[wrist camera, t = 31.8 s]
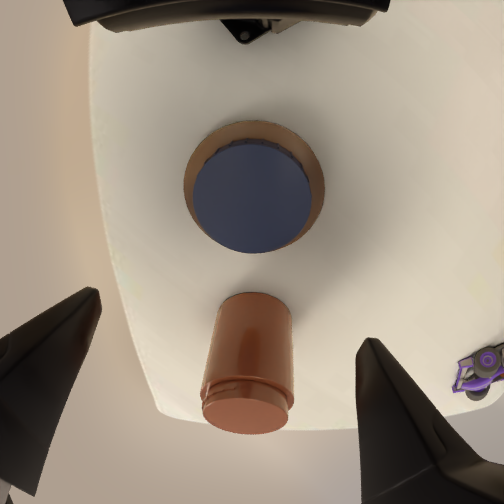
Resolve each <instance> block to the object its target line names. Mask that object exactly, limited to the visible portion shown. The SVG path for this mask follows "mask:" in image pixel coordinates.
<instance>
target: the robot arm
mask: <svg viewBox="0 0 504 504" xmlns="http://www.w3.org/2000/svg"><path fill="white" fill-rule="evenodd" d="M63 2H64V4H65V7H66V9H67V11H68V14H69V16H70V18H71V21H72V23H73V25H74V26H76V27H78V26H81V25H84V24H87V23H90V22H93V21H97V22H98V23H100V24H101V25H102V26H103V27H104V28H106V29H108V30H110V31H113V32H115V33H118V32H123V31H134V30H139V29H145V28H150V27H156V26H162V25H169V24H176V23H184V22H193V21H204V20H218V19H219V20H220V21H221V22H222V23H223V24H224V26H225V27H226V28H227V29H228V30H229V31H230V33H231V34H232V35H233V36H234V37H235V38H236V40H237V41H238V42H239V43H241V44H244V45H246V44H250V43H251V42H253V41H255V40H256V39H258V38H259V37H261V36H263V35H264V34H266V33H268V32H269V31H271V32H272V33H276V34H279V33H280V32H282V31H284V30H286V29H287V28H289V27H291V26H293V25H295V24H297V23H298V22H300V21H313V22H322V23H330V24H338V25H344V26H348V25H354V26H360V27H361V26H362V25H364V24H365V23H366V22H368V21H369V20H370V19H371V18H372V17H373V16H374V15H375V14H376V13H377V11H381V12H387V10H388V8H389V4H390V0H63ZM244 33H247V34H249V38H248V39H247V40H242V39H241V35H242V34H244ZM101 312H102V305H101V300H100V295H99V291H98V289H96V288H91V287H85V288H83V289H82V290H80V291H79V292H77V293H75V294H73V295H71V296H70V297H68V298H66V299H64V300H63V301H61V302H60V303H58V304H56V305H54V306H53V307H51V308H49V309H48V310H46V311H44V312H43V313H41V314H39V315H38V316H36V317H34V318H33V319H31V320H30V321H28V322H27V323H25V324H23V325H21V326H20V327H18V328H17V329H15V330H13V331H12V332H10V334H7V335H6V336H4V337H2V338H1V339H0V504H13V502H12V500H11V497H10V495H9V490H10V488H11V485H13V486H15V487H16V488H18V489H20V490H22V491H24V492H26V493H28V494H30V495H32V496H35V494H36V490H37V487H38V483H39V480H40V476H41V473H42V470H43V466H44V463H45V460H46V457H47V454H48V451H49V449H48V448H49V447H50V444H51V441H52V439H53V436H54V433H55V430H56V427H57V425H58V422H59V419H60V417H61V414H62V412H63V409H64V406H65V404H66V401H67V399H68V396H69V394H70V391H71V389H72V387H73V384H74V382H75V380H76V377H77V375H78V373H79V370H80V368H81V366H82V364H83V361H84V359H85V357H86V355H87V352H88V350H89V347H90V344H91V341H92V338H93V335H94V332H95V330H96V327H97V324H98V321H99V318H100V315H101ZM355 392H356V409H357V420H358V433H359V447H360V465H361V497H362V498H361V500H362V503H361V504H504V465H502V464H497V463H493V462H489V461H487V460H485V459H483V458H482V457H480V456H479V455H478V454H477V453H476V452H475V451H474V450H473V449H472V448H471V447H470V446H469V445H468V444H467V443H466V442H465V441H464V439H463V438H462V437H461V436H460V435H459V434H458V433H457V432H456V431H455V430H454V429H453V428H452V427H451V425H450V424H449V423H448V422H447V421H446V419H445V418H444V417H443V416H442V415H441V413H440V412H439V411H438V410H437V409H436V407H435V406H434V405H433V403H432V402H431V401H430V400H429V399H428V397H427V396H426V395H425V394H424V392H423V391H422V390H421V389H420V388H419V386H418V385H417V384H416V383H415V381H414V380H413V379H412V378H411V377H410V375H409V374H408V373H407V372H406V371H405V369H404V368H403V367H402V366H401V365H400V364H399V362H398V361H397V360H396V359H395V358H394V356H393V355H392V354H391V353H390V352H389V351H388V349H387V348H386V347H385V346H384V345H383V344H382V342H381V341H380V340H379V339H377V338H369V337H368V338H366V339H365V340H364V342H363V344H362V345H361V347H360V348H359V350H358V352H357V354H356V390H355Z"/></svg>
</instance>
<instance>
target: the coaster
mask: <svg viewBox="0 0 504 504" xmlns="http://www.w3.org/2000/svg"><path fill="white" fill-rule="evenodd" d="M246 138H248V139H261V140H262V138H263V139H264V140H266V141H270V142H273V143H275V144H277V143H279V145H280V146H281V147H283V148H285V149H286V150H287V151H289V152H292V154H293V156H294V157H295V158H296V159H297V160H298V161H299V163H302V166H303V169H304V172H305V174H306V176H308V178H309V182H310V183H309V187H310V191H311V194H312V198H311V210H310V214H309V217H308V220H307V222H306V224H305V226H304V227H303V229H302V230H301V232H300V233H299V234H298V235H297V236H296V237H295V238H294V239H293V240H292V241H290V242H289V243H287V244H286V245H284V246H282V247H280V248H278V249H281V248H284V247H286V246H288V245H290V244H292V243H293V242H295V241H297V240H298V239H299V238H301V237H302V236H303V235H304V234H305V233H306V232H307V231H308V230H309V229H310V228H311V227H312V225H313V224H314V222H315V221H316V219H317V217H318V215H319V214H320V211H321V208H322V205H323V200H324V193H325V185H324V177H323V172H322V169H321V167H320V164H319V162H318V160H317V158H316V156H315V154H314V152H313V151H312V150H311V148H310V147H309V146H308V145H307V144H306V143H305V142H304V141H303V140H302V139H301V138H300V137H299V136H298V135H296V134H295V133H294V132H292V131H290V130H288V129H287V128H285V127H282V126H280V125H277V124H274V123H270V122H266V121H257V120H254V121H241V122H236V123H232V124H229V125H226V126H224V127H222V128H220V129H218V130H216V131H215V132H213V133H212V134H210V135H209V136H208V137H207V138H206V139H205V140H203V141H202V142H201V144H200V145H199V146H198V147H197V148H196V150H195V151H194V153H193V154H192V156H191V158H190V160H189V162H188V164H187V168H186V171H185V176H184V196H185V200H186V204H187V207H188V210H189V212H190V214H191V216H192V218H193V219H194V221H195V222H196V224H197V225H198V226H199V228H200V229H201V230H202V231H203V232H204V233H205V234H206V235H208V234H207V233H206V232H205V230H204V229H203V228H202V226H201V225H200V223H199V221H198V219H197V217H196V214H195V211H194V207H193V188H194V184H195V181H196V178H197V177H196V176H197V174H198V173H199V172H200V170H201V169H202V167H203V166H204V162H205V161H206V160H207V159H208V158H210V157H211V156H212V155H213V154H214V153H215V152H216V150H217V149H218V148H222V147H224V146H225V145H227V144H230V142H231V141H233V142H235V141H238V140H244V139H246ZM208 236H209V235H208ZM209 237H210V236H209ZM210 238H211V237H210ZM211 239H212V238H211ZM213 240H214V239H213ZM214 241H215V240H214ZM278 249H276V250H278ZM273 251H274V250H273ZM269 252H270V251H269Z"/></svg>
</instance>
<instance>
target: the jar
mask: <svg viewBox="0 0 504 504" xmlns="http://www.w3.org/2000/svg"><path fill="white" fill-rule="evenodd" d="M200 397H201V400H202V401H203V402H202V410H203V416H204V418H205V419H206V420H207V421H208V422H209V423H210V424H212V425H214V426H216V427H218V428H220V429H222V430H225V431H229V432H233V433H239V434H264V433H269V432H273V431H276V430H278V429H280V428H282V427H283V426H284V425H285V424H286V423H287V421H288V411H289V410H290V409H291V407H292V406H293V404H294V369H293V338H292V317H291V314H290V311H289V310H288V308H287V307H286V306H285V305H284V304H283V303H282V302H281V301H280V300H278V299H276V298H274V297H272V296H270V295H267V294H263V293H254V292H250V293H242V294H238V295H235V296H232V297H230V298H229V299H227V300H226V301H225V302H224V303H223V304H222V305H221V306H220V308H219V310H218V312H217V317H216V321H215V326H214V330H213V335H212V339H211V344H210V348H209V353H208V358H207V362H206V367H205V372H204V377H203V381H202V386H201V391H200Z"/></svg>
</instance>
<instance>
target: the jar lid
mask: <svg viewBox="0 0 504 504" xmlns="http://www.w3.org/2000/svg"><path fill="white" fill-rule="evenodd" d="M196 177H197V178H196V181H195V184H194V188H193V207H194V211H195V214H196V217H197V219H198V221H199V223H200V225H201V226H202V228H203V229H204V230H205V232H206V233H207V234H208V235H209V236H210V237H211V238H212V239H214V240H215V241H216V242H218V243H219V244H221V245H222V246H224V247H227V248H229V249H231V250H234V251H238V252H242V253H265V252H269V251H273V250H276V249H278V248H280V247H282V246H284V245H286V244H287V243H289V242H290V241H292V240H293V239H294V238H295V237H296V236H297V235H298V234H299V233H300V232H301V230H302V229H303V227H304V226H305V224H306V222H307V220H308V217H309V214H310V210H311V198H312V194H311V191H310V187H309V183H310V182H309V178H308V176H306V174H305V172H304V169H303V166H302V163H299V161H298V160H297V159H296V158H295V157H294V156H293V154H292V152H289V151H287V150H286V149H285V148H283V147H281V146H280V145H279V143H277V144H275V143H273V142H270V141H266V140H264V139H263V138H262V140H261V139H248V138H246V139H244V140H238V141H235V142H233V141H231V142H230V144H227V145H225V146H224V147H222V148H218V149H217V150H216V152H215V153H214V154H213V155H212V156H211V157H210V158H208V159H207V160H206V161H205V162H204V166H203V167H202V169H201V170H200V172H199V173H198V174H197V176H196Z"/></svg>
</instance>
